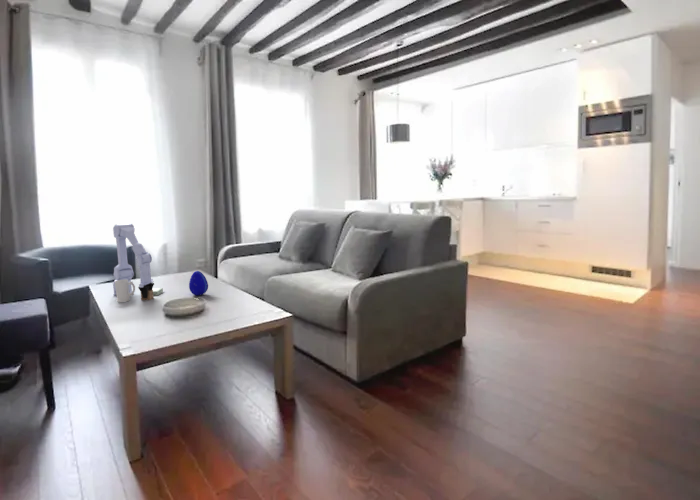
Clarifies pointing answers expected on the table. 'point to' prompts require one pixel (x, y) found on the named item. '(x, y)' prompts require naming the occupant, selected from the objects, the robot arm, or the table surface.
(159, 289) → the base plate
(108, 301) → the table surface
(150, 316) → the table surface
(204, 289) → the ornament
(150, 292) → the walnut cube
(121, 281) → the mug
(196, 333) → the table surface
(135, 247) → the robot arm
